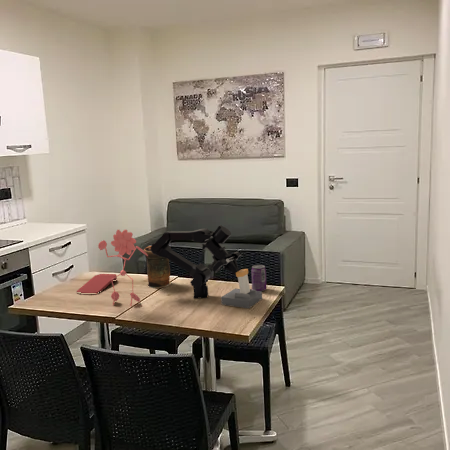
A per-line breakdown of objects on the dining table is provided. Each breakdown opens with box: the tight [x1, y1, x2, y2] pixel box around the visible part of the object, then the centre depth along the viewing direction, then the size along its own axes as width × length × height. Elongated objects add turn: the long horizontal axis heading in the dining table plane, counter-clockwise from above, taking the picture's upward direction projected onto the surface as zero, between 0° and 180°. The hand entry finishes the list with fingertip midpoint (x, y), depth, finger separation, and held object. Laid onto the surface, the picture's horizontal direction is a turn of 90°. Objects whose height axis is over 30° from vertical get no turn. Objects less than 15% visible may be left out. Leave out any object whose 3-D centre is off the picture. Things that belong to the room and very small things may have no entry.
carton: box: [76, 273, 118, 293], centre depth 256 cm, size 12×5×25 cm
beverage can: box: [251, 264, 267, 292], centre depth 237 cm, size 7×7×12 cm
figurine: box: [97, 229, 148, 307], centre depth 227 cm, size 15×26×35 cm, turn 73°
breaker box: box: [220, 288, 263, 309], centre depth 222 cm, size 14×14×5 cm
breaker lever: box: [235, 268, 250, 294], centre depth 220 cm, size 3×6×10 cm, turn 151°
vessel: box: [143, 245, 172, 289], centre depth 254 cm, size 14×14×20 cm
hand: (239, 275), depth 221 cm, fingers closed, pressing on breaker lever
